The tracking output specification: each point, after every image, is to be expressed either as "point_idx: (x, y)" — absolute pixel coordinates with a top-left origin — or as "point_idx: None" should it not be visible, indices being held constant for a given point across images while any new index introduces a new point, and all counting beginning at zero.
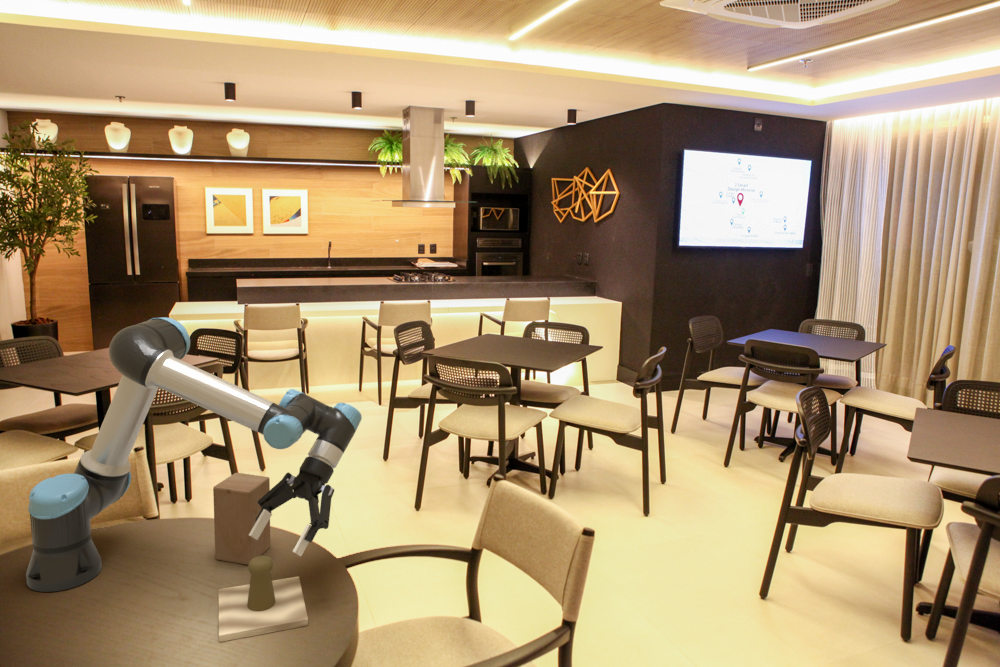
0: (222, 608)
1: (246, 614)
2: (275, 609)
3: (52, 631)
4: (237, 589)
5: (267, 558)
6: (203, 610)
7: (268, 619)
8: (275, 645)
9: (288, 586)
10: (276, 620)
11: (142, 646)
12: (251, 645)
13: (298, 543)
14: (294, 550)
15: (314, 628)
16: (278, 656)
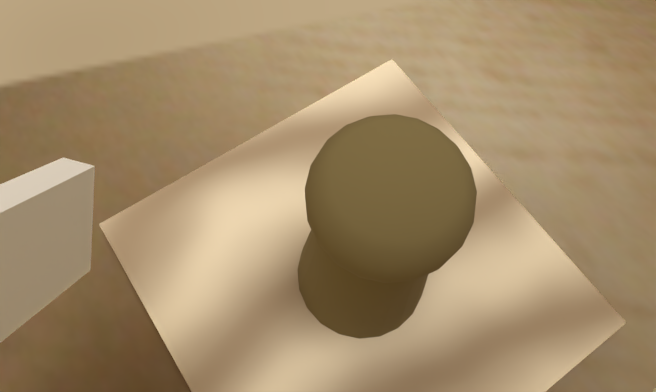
0: (496, 196)
1: None
2: (273, 248)
3: None
4: (543, 348)
5: (354, 199)
6: (577, 212)
7: (267, 180)
8: (189, 104)
9: None
10: (231, 182)
11: (596, 12)
12: (272, 86)
13: (10, 192)
14: (69, 166)
15: None
16: (155, 62)
